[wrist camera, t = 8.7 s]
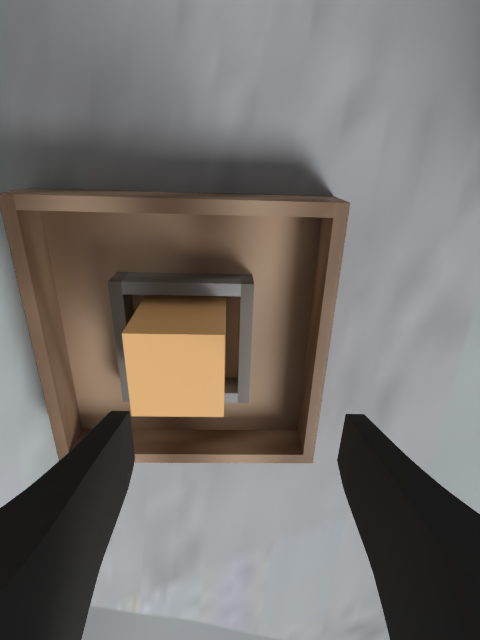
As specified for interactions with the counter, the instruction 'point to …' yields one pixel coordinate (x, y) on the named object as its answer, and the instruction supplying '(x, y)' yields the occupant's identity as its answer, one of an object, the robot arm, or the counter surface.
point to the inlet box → (181, 279)
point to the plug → (176, 356)
